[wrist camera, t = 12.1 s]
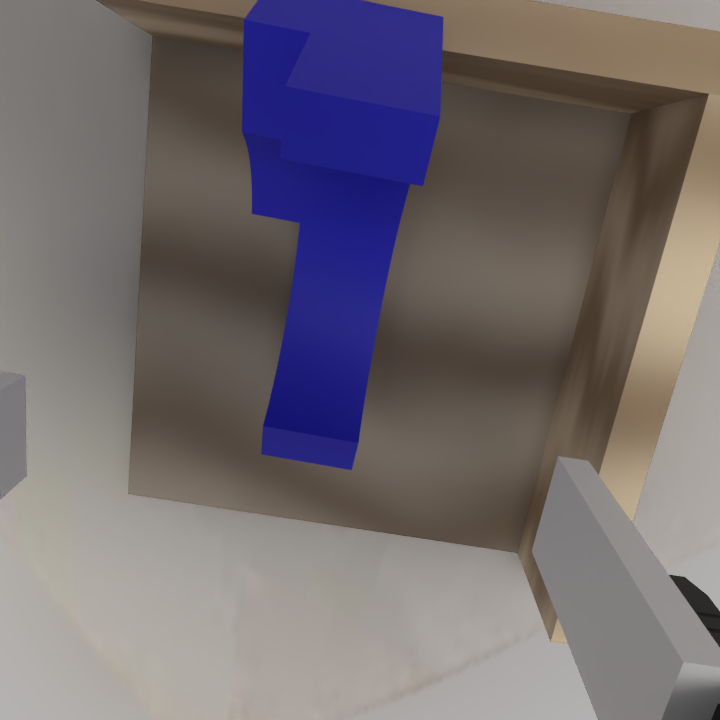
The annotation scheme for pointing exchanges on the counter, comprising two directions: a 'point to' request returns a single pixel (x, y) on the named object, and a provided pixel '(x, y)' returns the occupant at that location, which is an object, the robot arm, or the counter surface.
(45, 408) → the counter surface
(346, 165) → the cable clip
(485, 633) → the counter surface
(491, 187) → the corner board
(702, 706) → the robot arm
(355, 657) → the counter surface
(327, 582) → the counter surface
